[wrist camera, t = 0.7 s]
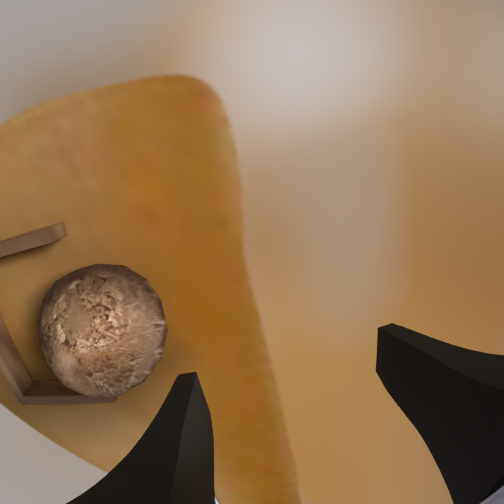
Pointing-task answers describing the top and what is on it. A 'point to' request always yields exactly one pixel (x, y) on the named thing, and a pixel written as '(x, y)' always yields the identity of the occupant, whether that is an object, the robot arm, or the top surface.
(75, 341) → the mushroom
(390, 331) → the robot arm
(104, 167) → the top surface
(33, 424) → the top surface
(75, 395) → the walnut frame
